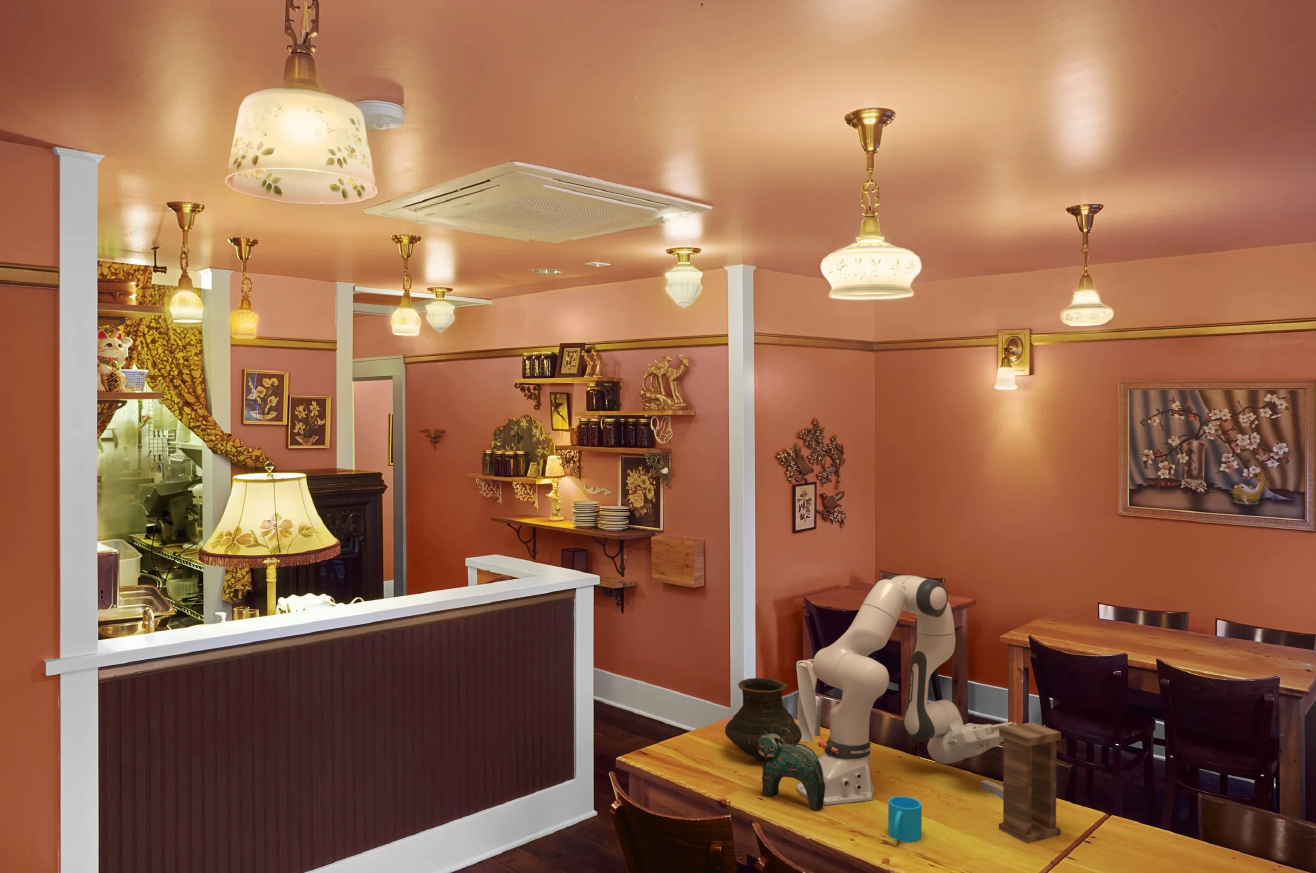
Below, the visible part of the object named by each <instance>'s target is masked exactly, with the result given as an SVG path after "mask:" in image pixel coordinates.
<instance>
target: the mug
mask: <svg viewBox="0 0 1316 873" xmlns="http://www.w3.org/2000/svg"><path fill="white" fill-rule="evenodd" d="M887 801H888V802H887V803H888V804H887V807H888V808H887V810H888V811H887V813H888V814H887V834H888V836H889V837H890V838H892V839H894V840H897V841H899V842H905V843H914V842H917V841H920V840H921V839H922V836H923V835H922V831H923V830H922V826H923V825H922V824H923V823H922V821H923V820H922V816H923V813H922V812H923V811H922V810H923V808H922V802H921V801H920V800H919V799H917V798H912V797H911V796H904V795H903V796H902V795H901V796H900V795H899V796H892V797H890V798H888V800H887Z"/></svg>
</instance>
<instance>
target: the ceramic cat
mask: <svg viewBox="0 0 1316 873" xmlns="http://www.w3.org/2000/svg"><path fill="white" fill-rule="evenodd" d="M782 729H786V730H787V731H788V732H789V733H790V734H791V732H790V731H789V730H788V729H787V728H785V727H783V728H781V729H780V733H781V730H782ZM757 749H758V753H759V754H760V755H761V756H762V757H764V758H765V759H764V761H763V765H762V778H761V781H762V783H761V784H762V796H765V797H766V798H767V797H768V798H774V797H776V796H778V795H779V793H780V792H779V791H780V789H779V786H780V783H781V780H782V779H783V778H792V779H795V780H797V781H798V782H800V783H802V784H803V785H804V787H805V790H806V793H807V797H808V798H807V801H808V802H807V803H808V809H809V810H811V811H815V812H819V811H821V810H822V809H824V804H823V802H824V793H825V782H824V777H823V771H822V767H821V764H820V762H819V760H818V756H817V753H816V752H815V751H814V750H813V748H811V747H810V746H807V745H806V744H802V743H798V744H786V743H785V742H784V741H783V739H782V738H781V734H780V736H779V735H777V734H774V733H772V734H767V733H766V732H765V731H763V732H762V735H761V737H760V738H759V740H758V742H757Z"/></svg>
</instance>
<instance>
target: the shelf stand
mask: <svg viewBox="0 0 1316 873" xmlns="http://www.w3.org/2000/svg"><path fill="white" fill-rule="evenodd" d="M999 736H1001V737H1003V738H1004V741H1003V799H1002V800H1003V802H1002V803H1003V806H1002V808H1003V809H1002V812H1003V813H1002V814H1003V815H1002V817H1003V819H1002V820H1003V822H1000V823H998V830H999V831H1002V832H1003V833H1006V834H1008V835H1010V836H1011V837H1014V838H1015V839H1018V840H1020V841H1021V842H1023V843H1025V844H1031V843H1035V842H1038V841H1042V840H1045V839H1049V838H1053V837H1057V836H1060V835H1061V834H1062V833H1061V832H1062V831H1061V830H1062V829H1061V827H1058V826H1057V741H1062V731H1059V730H1056V729H1052V728H1050V727H1048V726H1044V725H1042V724H1038V723H1036V722H1026V723H1020V724H1017V725H1014V726H1009V727H1003V728H999Z"/></svg>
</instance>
